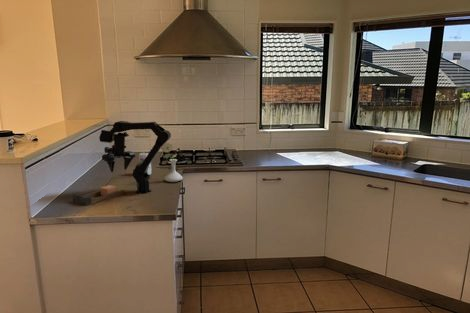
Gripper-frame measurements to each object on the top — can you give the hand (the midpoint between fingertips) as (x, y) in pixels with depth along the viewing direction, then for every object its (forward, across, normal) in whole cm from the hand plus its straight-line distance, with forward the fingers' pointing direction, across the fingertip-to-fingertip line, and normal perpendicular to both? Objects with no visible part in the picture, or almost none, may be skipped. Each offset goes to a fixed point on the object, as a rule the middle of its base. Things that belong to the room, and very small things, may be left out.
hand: (118, 170), depth 200 cm
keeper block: (+12, +8, +2) cm, 15 cm away
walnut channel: (+12, +14, +2) cm, 18 cm away
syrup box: (+12, -35, -16) cm, 40 cm away
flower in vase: (+10, -34, +10) cm, 37 cm away
